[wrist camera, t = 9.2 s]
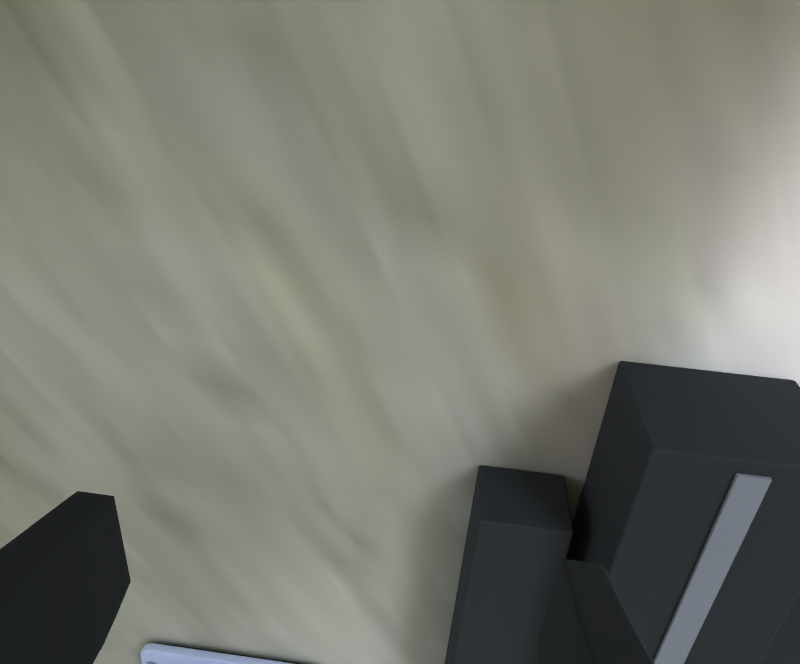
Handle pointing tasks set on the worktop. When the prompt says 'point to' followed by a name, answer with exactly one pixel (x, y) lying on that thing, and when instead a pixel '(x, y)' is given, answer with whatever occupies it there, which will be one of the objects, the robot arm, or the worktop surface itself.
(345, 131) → the worktop surface
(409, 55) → the worktop surface
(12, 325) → the worktop surface
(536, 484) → the notch pad
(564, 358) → the worktop surface
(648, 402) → the pad
